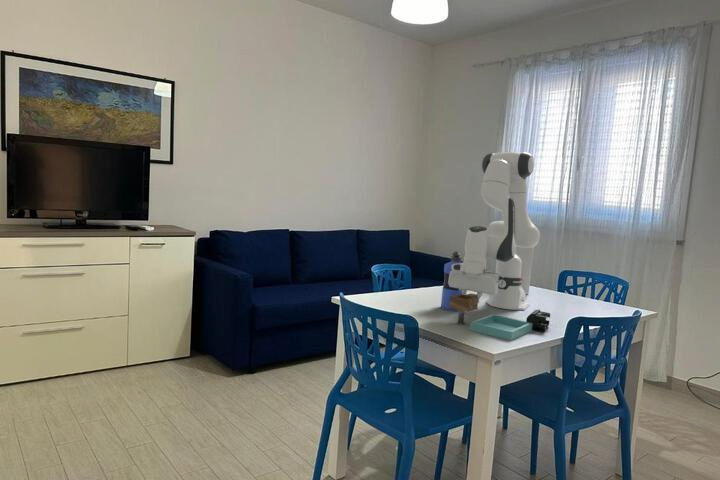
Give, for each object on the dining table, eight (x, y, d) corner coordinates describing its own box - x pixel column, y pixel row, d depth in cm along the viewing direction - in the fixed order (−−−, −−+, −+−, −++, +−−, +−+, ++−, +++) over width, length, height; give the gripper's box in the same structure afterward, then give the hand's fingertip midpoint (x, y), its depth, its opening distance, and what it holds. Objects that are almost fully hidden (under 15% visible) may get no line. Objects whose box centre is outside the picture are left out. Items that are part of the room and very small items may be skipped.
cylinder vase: (505, 293, 273) (510, 246, 270) (503, 289, 285) (508, 243, 282) (530, 296, 271) (535, 248, 268) (526, 291, 283) (531, 246, 280)
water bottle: (436, 307, 228) (441, 250, 225) (448, 304, 235) (453, 249, 232) (454, 312, 222) (460, 253, 219) (466, 309, 228) (471, 252, 226)
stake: (459, 322, 205) (461, 302, 204) (464, 323, 203) (466, 303, 203) (456, 323, 203) (458, 303, 202) (461, 324, 202) (463, 304, 201)
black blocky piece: (530, 324, 211) (532, 308, 210) (548, 328, 207) (550, 311, 207) (525, 329, 202) (527, 312, 201) (544, 333, 199) (546, 315, 198)
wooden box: (464, 303, 212) (465, 292, 212) (482, 307, 207) (483, 295, 207) (449, 308, 202) (450, 296, 202) (468, 312, 197) (469, 300, 197)
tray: (492, 321, 210) (493, 314, 210) (531, 330, 200) (532, 323, 200) (469, 330, 194) (470, 321, 194) (511, 340, 184) (511, 332, 184)
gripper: (502, 271, 202) (499, 305, 204) (455, 263, 215) (452, 296, 216) (495, 272, 197) (492, 308, 199) (447, 264, 210) (445, 298, 211)
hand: (471, 301), depth 208 cm, fingers closed on wooden box, 3 cm apart
